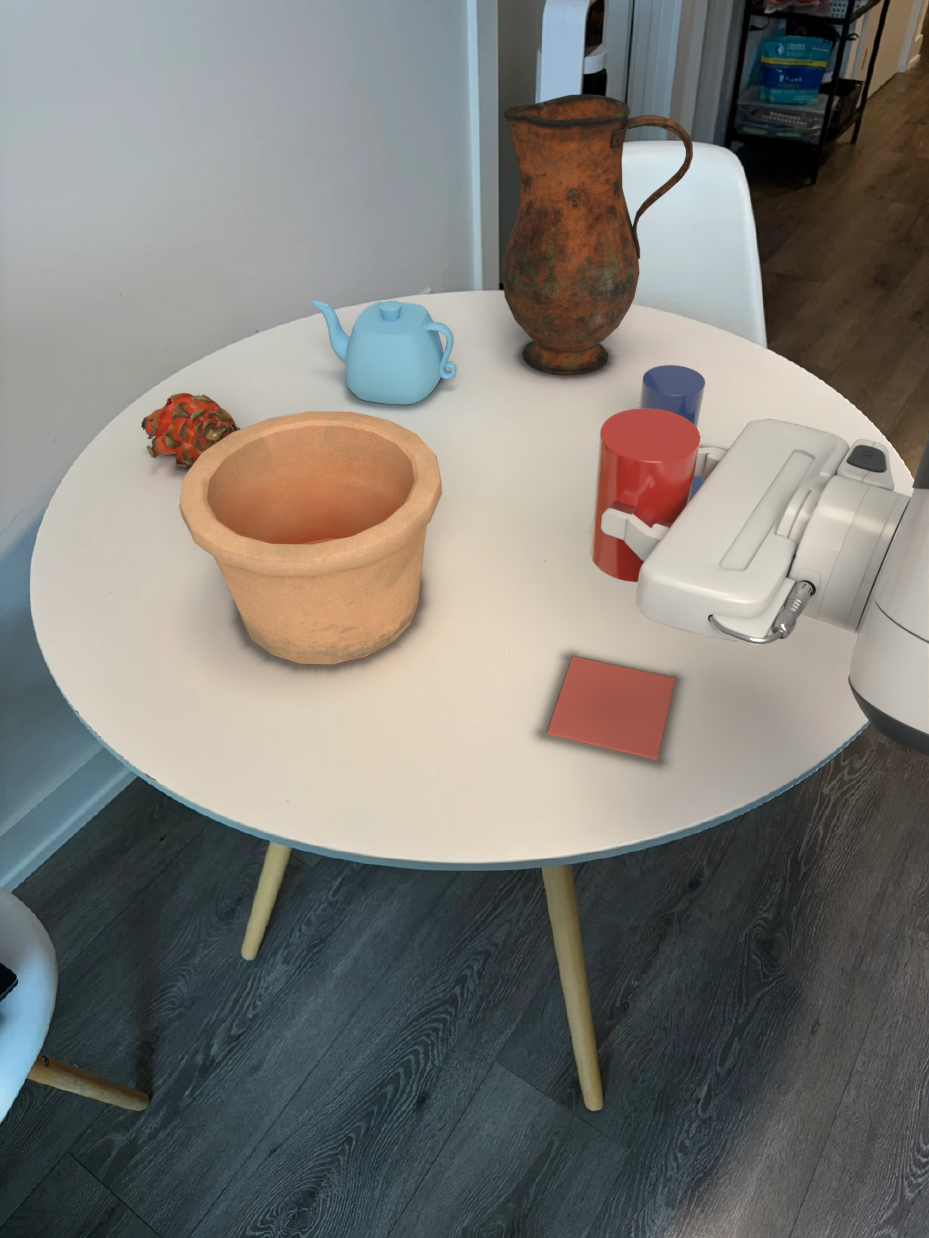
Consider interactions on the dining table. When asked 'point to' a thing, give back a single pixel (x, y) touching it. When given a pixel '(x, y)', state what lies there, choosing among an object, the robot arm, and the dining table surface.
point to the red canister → (641, 479)
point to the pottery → (317, 529)
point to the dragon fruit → (187, 427)
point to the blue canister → (673, 391)
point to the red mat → (613, 707)
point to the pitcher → (574, 228)
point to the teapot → (391, 351)
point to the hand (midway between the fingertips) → (631, 485)
